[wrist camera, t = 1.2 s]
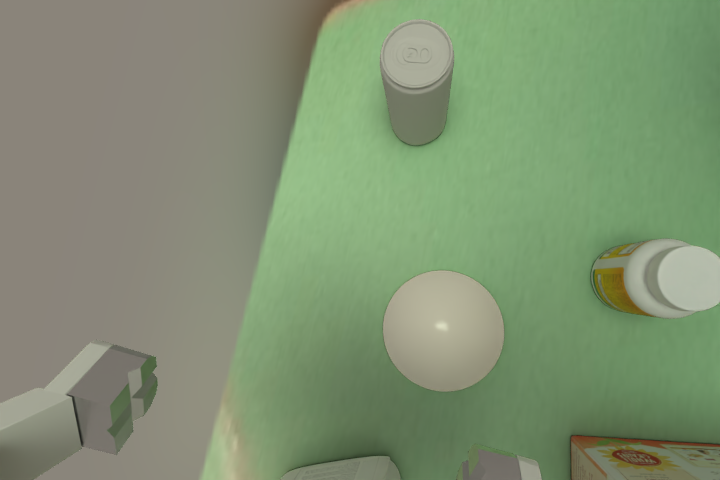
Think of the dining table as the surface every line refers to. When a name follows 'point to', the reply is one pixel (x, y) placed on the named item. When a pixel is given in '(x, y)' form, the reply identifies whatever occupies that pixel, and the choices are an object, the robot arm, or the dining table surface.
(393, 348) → the white domed disc
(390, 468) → the photo printer
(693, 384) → the dining table surface
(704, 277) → the supplement bottle
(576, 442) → the cracker box
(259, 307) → the dining table surface
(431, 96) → the beverage can
